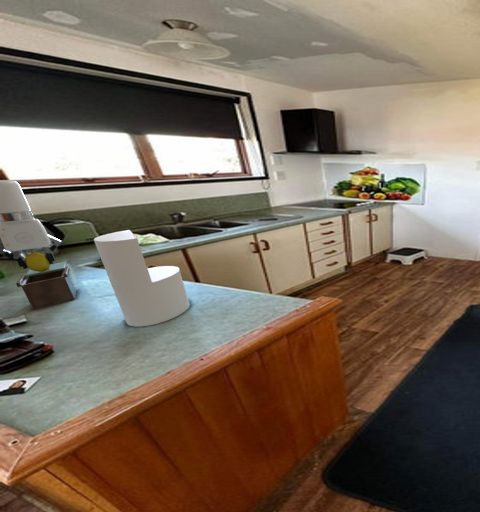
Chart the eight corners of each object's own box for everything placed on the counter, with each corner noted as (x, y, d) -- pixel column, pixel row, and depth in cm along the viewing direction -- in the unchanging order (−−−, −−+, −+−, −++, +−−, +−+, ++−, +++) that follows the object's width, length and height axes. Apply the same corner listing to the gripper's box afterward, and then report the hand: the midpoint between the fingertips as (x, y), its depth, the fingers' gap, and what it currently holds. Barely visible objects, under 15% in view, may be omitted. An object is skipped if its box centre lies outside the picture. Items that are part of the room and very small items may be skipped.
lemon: (35, 276, 97) (25, 255, 95) (27, 274, 99) (17, 253, 97) (57, 270, 102) (48, 250, 100) (49, 268, 104) (40, 249, 101)
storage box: (30, 310, 97) (15, 283, 93) (34, 300, 105) (21, 274, 101) (77, 299, 105) (66, 273, 101) (79, 290, 113) (68, 266, 109)
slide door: (26, 277, 101) (20, 265, 99) (31, 269, 109) (25, 258, 107) (64, 269, 107) (59, 258, 106) (66, 263, 115) (62, 252, 113)
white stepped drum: (130, 333, 82) (95, 245, 73) (123, 313, 93) (92, 235, 84) (195, 310, 94) (173, 232, 85) (183, 295, 105) (161, 225, 96)
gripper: (-30, 222, 86) (-2, 275, 92) (52, 214, 97) (73, 261, 103) (-23, 219, 91) (3, 269, 97) (54, 212, 102) (74, 257, 108)
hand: (39, 265), depth 100 cm, fingers closed on lemon, 5 cm apart
